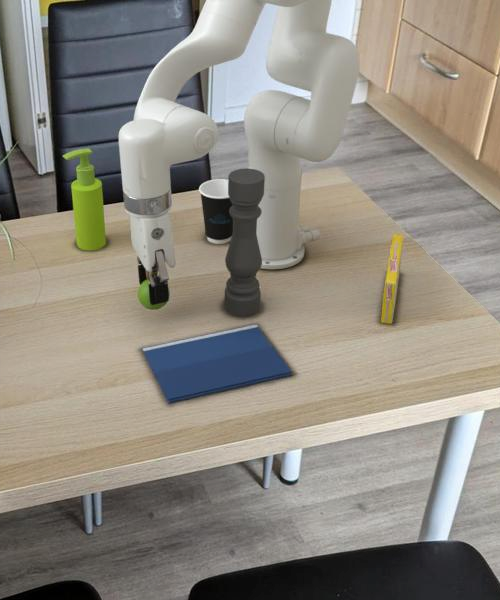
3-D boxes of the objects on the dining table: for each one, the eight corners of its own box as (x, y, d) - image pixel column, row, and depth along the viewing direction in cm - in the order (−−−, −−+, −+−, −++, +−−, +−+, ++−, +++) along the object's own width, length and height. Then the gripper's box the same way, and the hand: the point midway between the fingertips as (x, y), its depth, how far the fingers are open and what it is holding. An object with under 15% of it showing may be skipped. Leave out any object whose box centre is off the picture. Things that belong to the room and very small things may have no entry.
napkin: (255, 325, 140) (255, 322, 140) (291, 375, 129) (292, 372, 128) (142, 350, 136) (141, 346, 136) (168, 403, 125) (168, 399, 124)
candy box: (387, 272, 151) (392, 233, 147) (399, 274, 151) (405, 234, 146) (378, 322, 139) (384, 281, 134) (392, 324, 138) (398, 282, 133)
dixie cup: (213, 252, 161) (213, 201, 155) (191, 235, 167) (191, 185, 161) (247, 240, 164) (249, 190, 158) (224, 224, 170) (225, 175, 163)
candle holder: (258, 318, 142) (265, 185, 128) (222, 315, 143) (224, 184, 129) (261, 298, 147) (267, 168, 133) (225, 296, 148) (228, 167, 134)
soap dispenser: (67, 241, 167) (58, 149, 156) (98, 233, 170) (91, 141, 158) (78, 254, 163) (69, 160, 152) (110, 245, 165) (104, 152, 154)
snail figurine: (172, 294, 145) (168, 235, 138) (169, 316, 140) (165, 257, 133) (141, 293, 146) (136, 235, 139) (137, 315, 141) (132, 256, 134)
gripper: (188, 218, 125) (191, 315, 135) (153, 171, 138) (159, 263, 149) (140, 228, 123) (147, 326, 134) (110, 180, 137) (119, 271, 147)
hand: (153, 292), depth 141 cm, fingers closed on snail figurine, 5 cm apart
